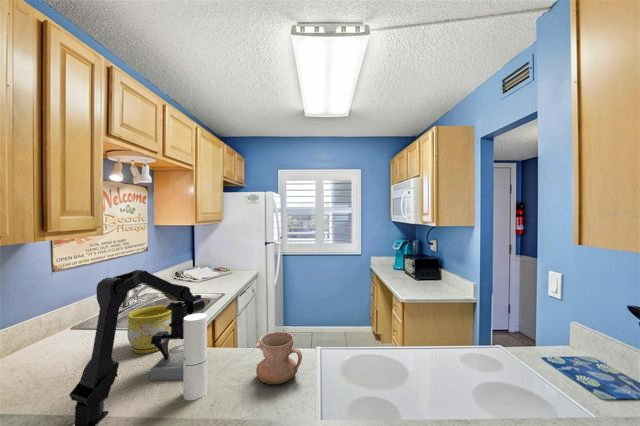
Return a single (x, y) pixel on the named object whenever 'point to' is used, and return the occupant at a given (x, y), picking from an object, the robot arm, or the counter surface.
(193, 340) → the cylindrical container
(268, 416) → the counter surface
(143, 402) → the counter surface
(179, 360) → the short white cylinder
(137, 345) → the flowerpot
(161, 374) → the tray
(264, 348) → the ceramic jug
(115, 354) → the counter surface
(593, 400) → the counter surface
